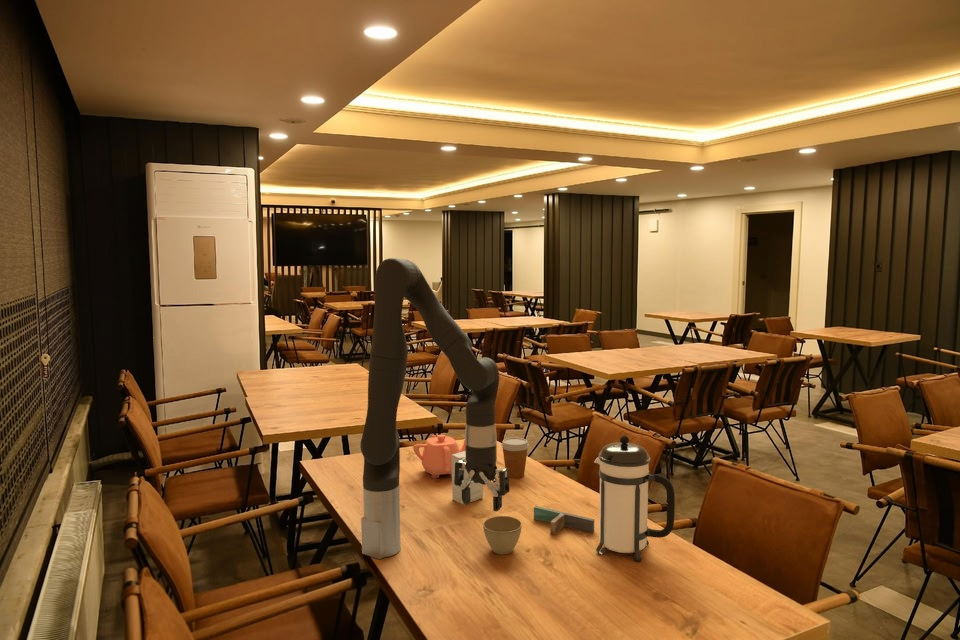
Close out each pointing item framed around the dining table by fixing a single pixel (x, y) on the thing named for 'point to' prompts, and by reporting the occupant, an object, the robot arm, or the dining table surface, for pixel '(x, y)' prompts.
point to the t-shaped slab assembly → (563, 520)
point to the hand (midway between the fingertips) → (481, 506)
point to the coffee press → (628, 499)
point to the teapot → (438, 454)
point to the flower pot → (502, 533)
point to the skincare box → (475, 488)
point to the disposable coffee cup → (515, 456)
